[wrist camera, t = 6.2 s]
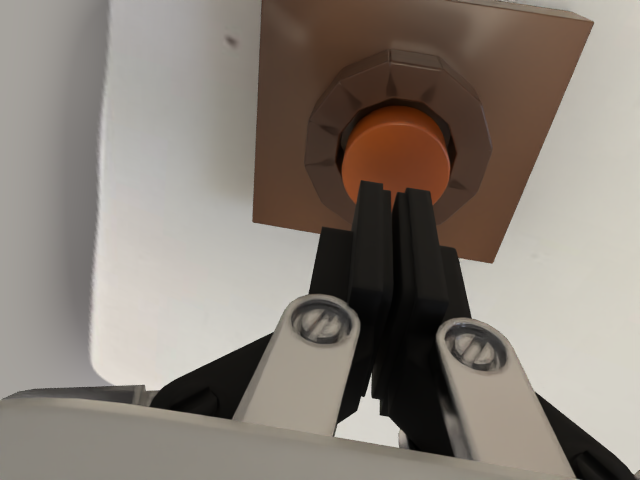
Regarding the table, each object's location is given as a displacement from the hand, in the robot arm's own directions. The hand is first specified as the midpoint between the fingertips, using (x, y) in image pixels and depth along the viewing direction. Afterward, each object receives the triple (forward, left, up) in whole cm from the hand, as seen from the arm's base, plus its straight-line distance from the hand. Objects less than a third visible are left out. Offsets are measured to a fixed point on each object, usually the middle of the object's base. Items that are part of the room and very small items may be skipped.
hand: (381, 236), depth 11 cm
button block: (0, 0, -10) cm, 10 cm away
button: (0, 0, -6) cm, 6 cm away
